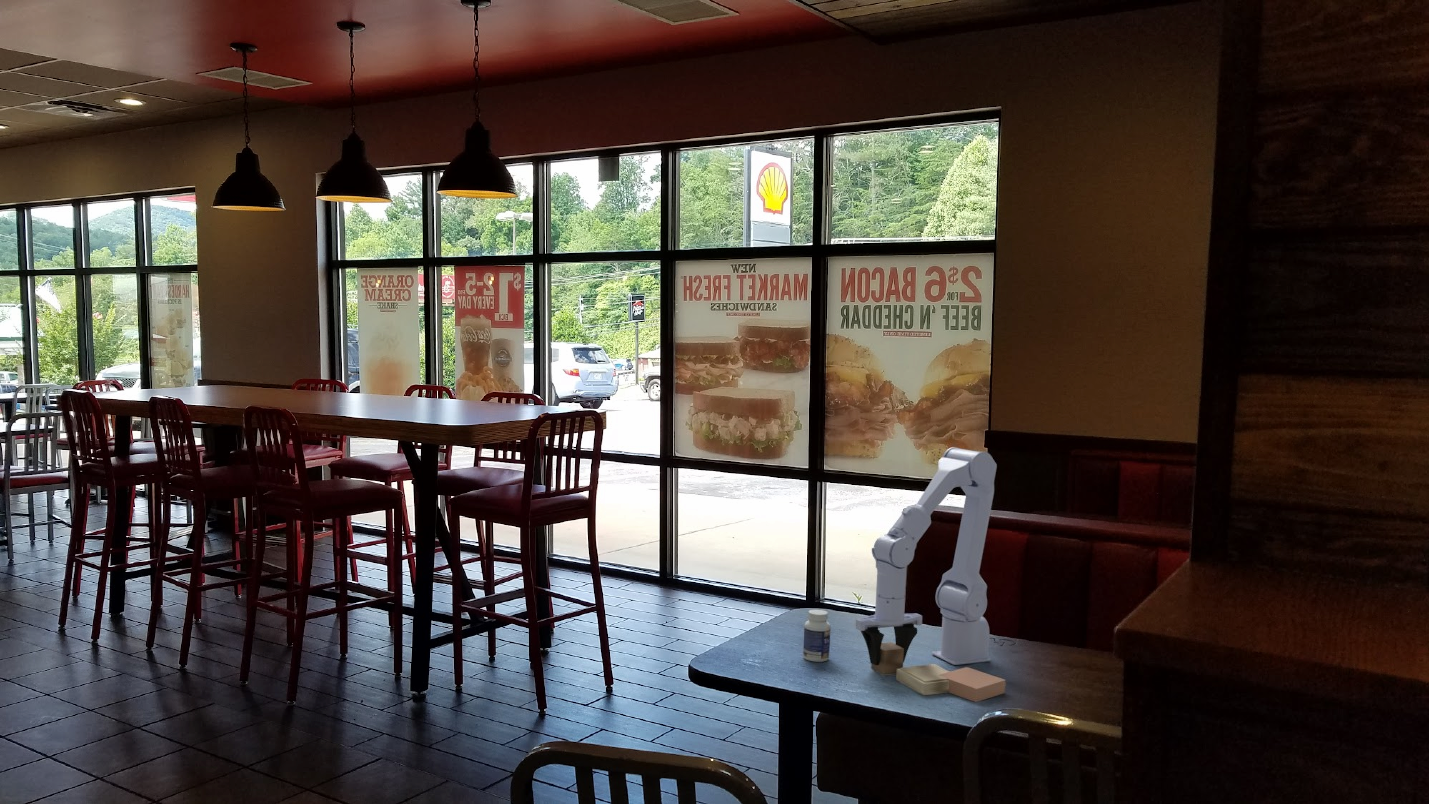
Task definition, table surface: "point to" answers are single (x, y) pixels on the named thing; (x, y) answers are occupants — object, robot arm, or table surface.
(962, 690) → the salmon pink slab
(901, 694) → the table surface
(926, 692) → the birch plinth
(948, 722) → the table surface
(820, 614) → the pill bottle
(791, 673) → the table surface
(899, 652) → the walnut block
